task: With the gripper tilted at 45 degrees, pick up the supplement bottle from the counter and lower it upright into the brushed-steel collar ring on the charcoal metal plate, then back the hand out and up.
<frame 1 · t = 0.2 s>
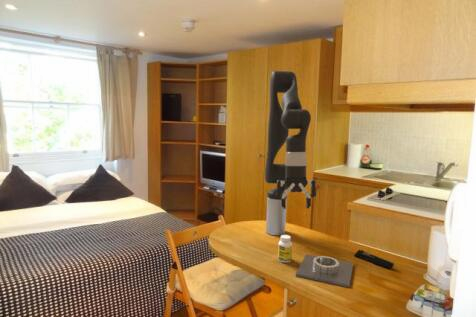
hand: (295, 208, 122), 22 cm above the table, tool pointing down, fingers open, 8 cm apart
supplement bottle: (284, 260, 130), on the table
collar plate: (325, 270, 122), on the table
electric trimmer: (373, 262, 130), on the table
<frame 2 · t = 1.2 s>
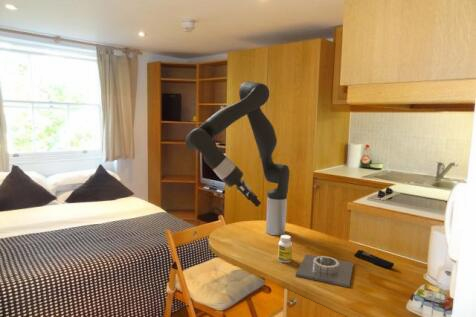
hand: (257, 201, 125), 23 cm above the table, tool tilted 45°, fingers open, 8 cm apart
nothing on the table moved.
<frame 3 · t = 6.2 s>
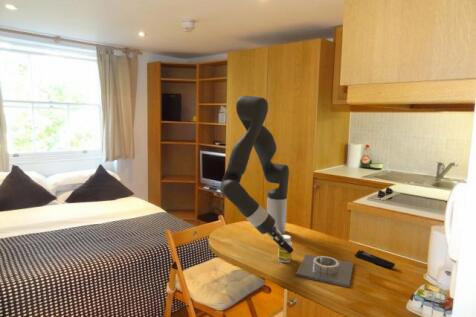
hand: (289, 248, 129), 5 cm above the table, tool tilted 45°, fingers closed on supplement bottle, 5 cm apart
supplement bottle: (284, 260, 130), on the table, touching gripper
everything else where it was.
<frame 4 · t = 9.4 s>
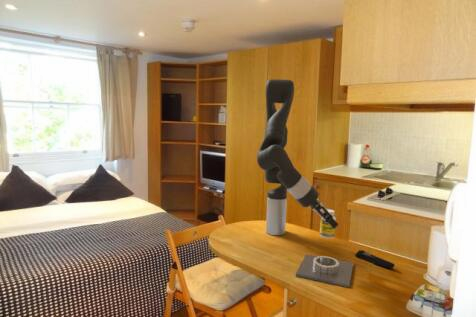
hand: (332, 223, 119), 18 cm above the table, tool tilted 45°, fingers closed on supplement bottle, 5 cm apart
supplement bottle: (327, 236, 120), point 13 cm above the table, touching gripper
everything else where it was.
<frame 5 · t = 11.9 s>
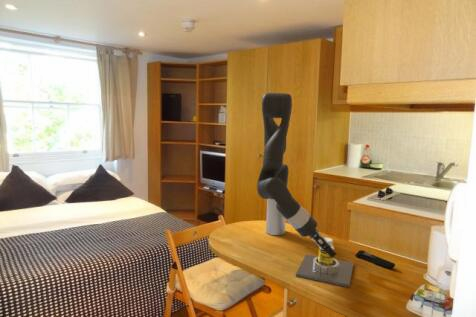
hand: (331, 252, 121), 7 cm above the table, tool tilted 45°, fingers closed on supplement bottle, 5 cm apart
supplement bottle: (325, 264, 121), point 2 cm above the table, touching gripper
everything else where it was.
when the fingers open (7 cm above the table, at t = 12.8 s): supplement bottle drops 1 cm, resting on collar plate.
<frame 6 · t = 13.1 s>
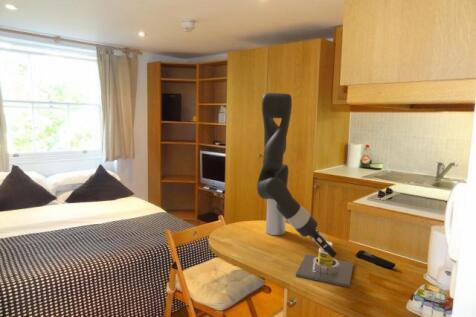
hand: (330, 250, 121), 8 cm above the table, tool tilted 45°, fingers open, 8 cm apart
supplement bottle: (325, 268, 122), point 1 cm above the table, touching collar plate
everything else where it was.
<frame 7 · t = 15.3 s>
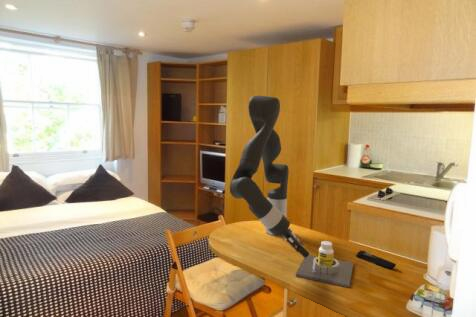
hand: (303, 250, 120), 8 cm above the table, tool tilted 45°, fingers open, 8 cm apart
nothing on the table moved.
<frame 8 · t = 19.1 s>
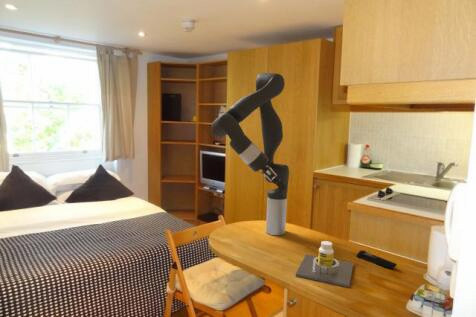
hand: (281, 186, 128), 29 cm above the table, tool tilted 45°, fingers open, 8 cm apart
nothing on the table moved.
at the end: supplement bottle 0.2 cm off-centre on the collar plate, point 0.8 cm above the collar plate's base; supplement bottle tilted 0°; the gripper is holding nothing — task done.
